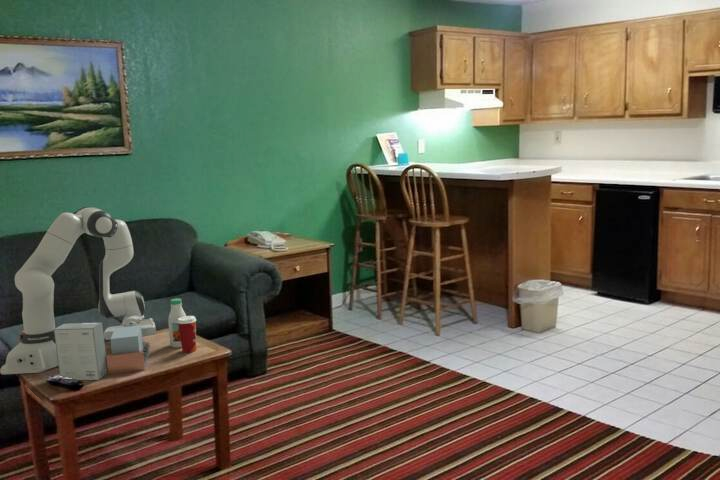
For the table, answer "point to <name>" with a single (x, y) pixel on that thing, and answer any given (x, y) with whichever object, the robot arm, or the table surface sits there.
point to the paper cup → (187, 333)
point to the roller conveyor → (128, 360)
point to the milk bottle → (175, 322)
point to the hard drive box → (81, 351)
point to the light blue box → (126, 340)
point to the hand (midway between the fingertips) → (128, 336)
